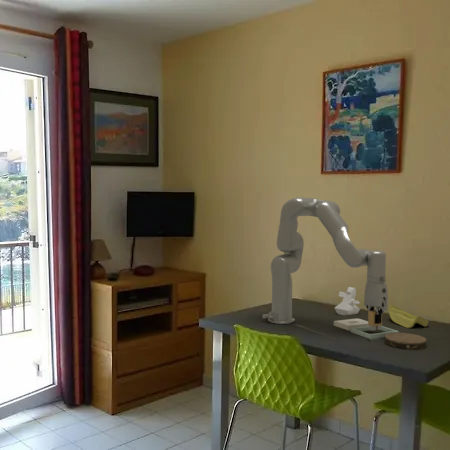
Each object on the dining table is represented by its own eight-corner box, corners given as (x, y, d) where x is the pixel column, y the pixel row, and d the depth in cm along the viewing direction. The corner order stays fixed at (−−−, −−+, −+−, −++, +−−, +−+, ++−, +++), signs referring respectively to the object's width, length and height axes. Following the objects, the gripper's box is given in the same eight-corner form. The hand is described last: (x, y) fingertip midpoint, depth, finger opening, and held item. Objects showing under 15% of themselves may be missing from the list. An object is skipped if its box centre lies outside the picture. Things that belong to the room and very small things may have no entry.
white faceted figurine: (352, 318, 260) (353, 290, 259) (331, 313, 271) (331, 286, 270) (363, 316, 265) (364, 289, 264) (342, 311, 276) (343, 285, 275)
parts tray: (369, 341, 218) (370, 335, 218) (350, 334, 228) (350, 328, 228) (398, 337, 225) (398, 331, 225) (378, 330, 236) (378, 325, 236)
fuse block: (348, 332, 231) (348, 325, 231) (333, 327, 240) (333, 321, 240) (372, 329, 237) (372, 322, 237) (357, 324, 246) (357, 318, 246)
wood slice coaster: (381, 339, 222) (381, 332, 222) (420, 340, 221) (420, 333, 221) (389, 349, 207) (389, 342, 207) (431, 351, 205) (431, 343, 205)
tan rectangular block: (372, 330, 224) (373, 311, 224) (368, 329, 227) (368, 310, 226) (381, 329, 226) (382, 310, 226) (376, 328, 229) (377, 309, 229)
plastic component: (431, 322, 244) (416, 314, 240) (424, 336, 244) (409, 329, 240) (402, 310, 262) (388, 302, 258) (395, 323, 262) (381, 316, 258)
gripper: (396, 281, 220) (395, 325, 221) (369, 276, 234) (368, 317, 235) (383, 283, 217) (382, 327, 217) (356, 277, 231) (355, 319, 232)
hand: (374, 322), depth 226 cm, fingers closed on tan rectangular block, 3 cm apart
